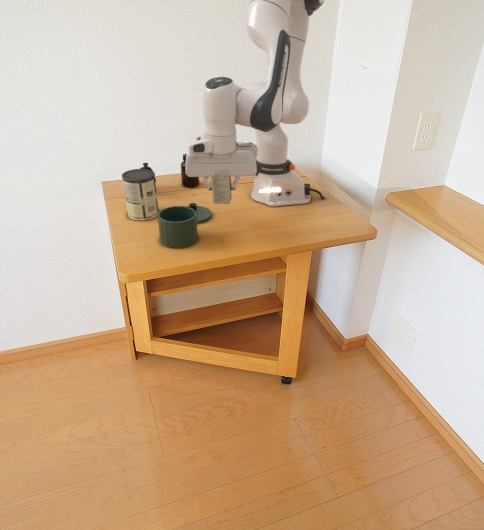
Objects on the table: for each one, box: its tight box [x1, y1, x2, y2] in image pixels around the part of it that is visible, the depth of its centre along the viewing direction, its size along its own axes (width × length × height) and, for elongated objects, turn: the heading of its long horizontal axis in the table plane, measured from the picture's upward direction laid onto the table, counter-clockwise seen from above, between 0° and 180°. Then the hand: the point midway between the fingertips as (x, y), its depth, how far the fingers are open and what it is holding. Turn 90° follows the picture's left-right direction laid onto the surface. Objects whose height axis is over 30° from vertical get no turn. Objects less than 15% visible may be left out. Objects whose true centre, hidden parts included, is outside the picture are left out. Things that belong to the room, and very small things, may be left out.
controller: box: [139, 162, 157, 183], centre depth 151 cm, size 4×12×10 cm, turn 23°
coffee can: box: [121, 168, 160, 221], centre depth 134 cm, size 10×10×14 cm
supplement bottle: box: [180, 153, 200, 189], centre depth 158 cm, size 7×7×12 cm
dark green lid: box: [185, 202, 212, 223], centre depth 137 cm, size 12×12×4 cm
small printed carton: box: [210, 171, 233, 205], centre depth 119 cm, size 5×4×10 cm
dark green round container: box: [157, 205, 199, 249], centre depth 122 cm, size 11×11×8 cm
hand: (221, 189), depth 120 cm, fingers closed on small printed carton, 5 cm apart
